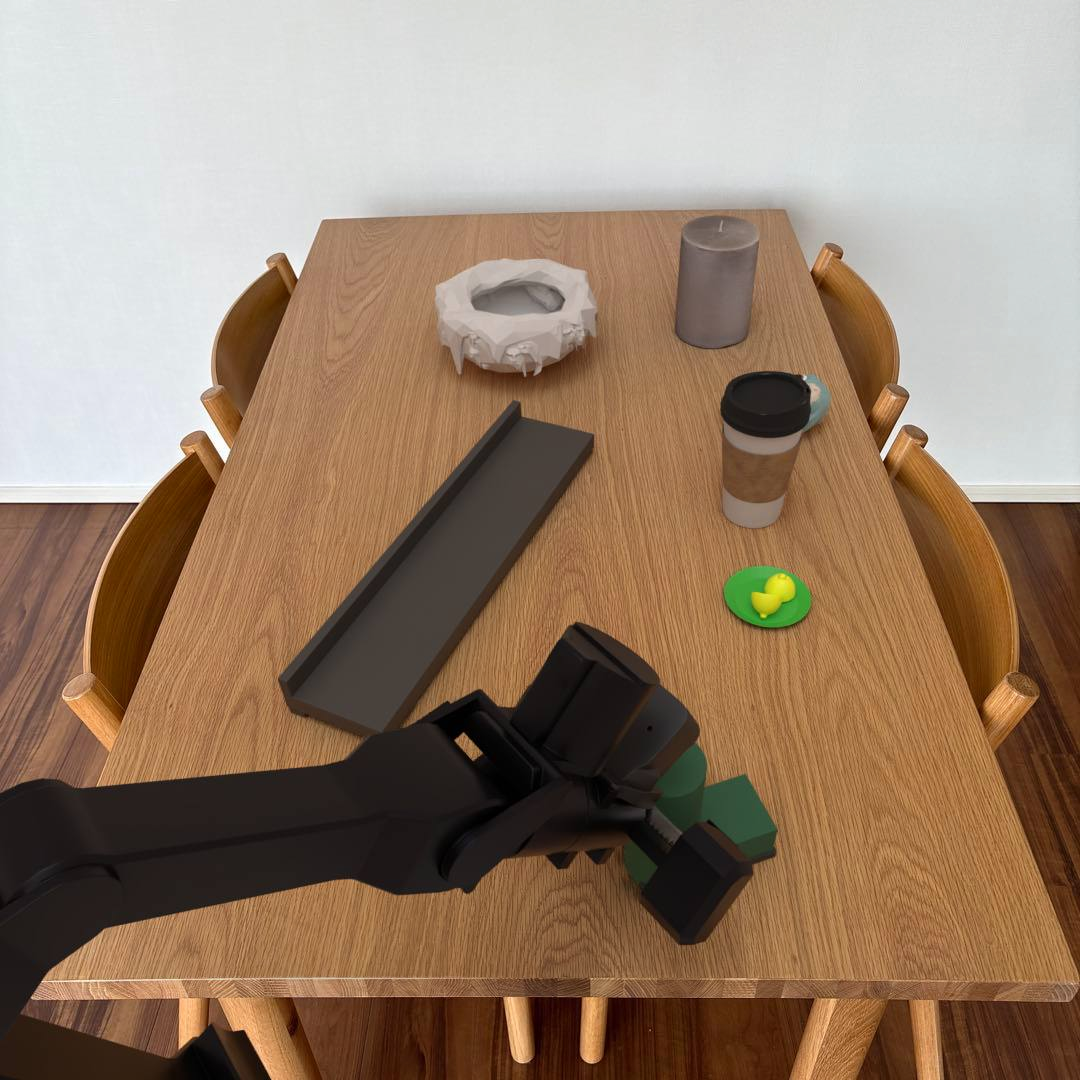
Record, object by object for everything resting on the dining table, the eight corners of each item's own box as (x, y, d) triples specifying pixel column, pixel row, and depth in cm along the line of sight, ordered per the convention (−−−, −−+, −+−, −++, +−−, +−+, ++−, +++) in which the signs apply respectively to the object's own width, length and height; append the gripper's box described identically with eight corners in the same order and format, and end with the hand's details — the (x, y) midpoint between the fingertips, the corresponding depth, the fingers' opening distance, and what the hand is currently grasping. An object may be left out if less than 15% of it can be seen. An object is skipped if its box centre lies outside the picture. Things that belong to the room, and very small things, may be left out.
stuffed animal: (717, 355, 112) (823, 340, 109) (723, 406, 116) (826, 392, 114) (720, 408, 104) (835, 393, 101) (727, 460, 108) (837, 447, 106)
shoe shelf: (386, 750, 79) (377, 717, 76) (288, 711, 83) (276, 678, 80) (594, 451, 108) (594, 419, 105) (515, 431, 112) (513, 399, 109)
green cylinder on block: (641, 903, 69) (646, 808, 60) (613, 839, 73) (614, 741, 64) (775, 856, 71) (799, 758, 63) (741, 796, 75) (759, 696, 66)
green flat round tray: (805, 639, 86) (809, 618, 84) (716, 622, 88) (719, 601, 86) (814, 579, 92) (819, 557, 90) (731, 564, 94) (733, 543, 92)
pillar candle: (686, 307, 131) (693, 200, 121) (756, 318, 128) (770, 210, 118) (665, 342, 125) (670, 232, 114) (738, 355, 122) (751, 244, 111)
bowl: (477, 306, 134) (471, 238, 127) (618, 327, 128) (619, 257, 121) (412, 386, 120) (401, 314, 113) (567, 413, 114) (565, 340, 107)
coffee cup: (794, 540, 96) (816, 417, 86) (708, 533, 97) (721, 412, 87) (791, 487, 102) (812, 366, 92) (711, 481, 103) (723, 362, 93)
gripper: (747, 801, 48) (850, 797, 60) (520, 597, 59) (646, 629, 71) (628, 969, 50) (751, 933, 62) (430, 742, 61) (568, 749, 73)
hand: (676, 799), depth 67 cm, fingers open, 9 cm apart
